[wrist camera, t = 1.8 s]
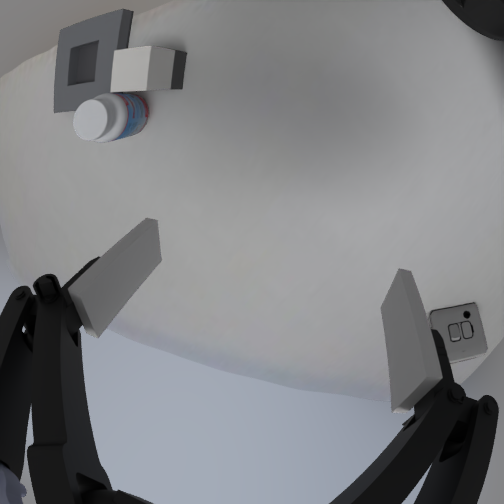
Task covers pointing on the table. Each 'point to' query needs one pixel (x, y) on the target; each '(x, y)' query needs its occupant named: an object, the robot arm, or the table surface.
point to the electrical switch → (460, 332)
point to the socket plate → (88, 58)
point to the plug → (147, 69)
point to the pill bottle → (110, 117)
